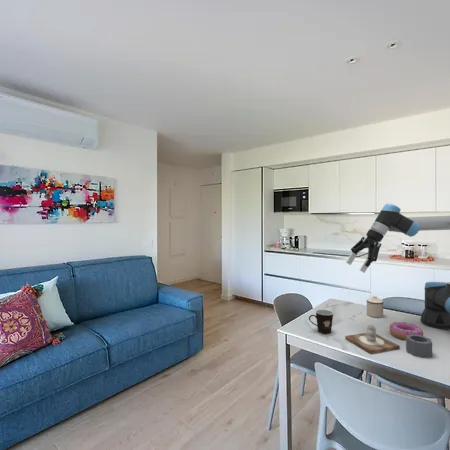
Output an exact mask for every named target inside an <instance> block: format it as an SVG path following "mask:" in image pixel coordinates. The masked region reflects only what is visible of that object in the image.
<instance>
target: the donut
mask: <svg viewBox="0 0 450 450" xmlns="http://www.w3.org/2000/svg"><path fill="white" fill-rule="evenodd" d="M389 333H390V334H391V335H392V336H393V337H395V338H397V339H400V340H403V341H406V335H411V334H415V335H421V336H424V329H422V327H421V326H418V325H416V324H413V323H411V322H406V321H405V322H403V321H395V322H391V323H389Z"/></svg>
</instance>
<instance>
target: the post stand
mask: <svg viewBox="0 0 450 450" xmlns="http://www.w3.org/2000/svg"><path fill="white" fill-rule="evenodd" d="M344 337H345V339H344V340H346V341H348V342H349V343H351V344H352V345H355V346H356V347H358V348H359V349H361V350H363V351H364V352H366V353H367V354H370V355H374V354H379V353H385V352H389V351H390V352H391V351H396V350H400V349H401V345H400V344H397V343H396V342H393V341H392V340H389V339H387V338H385V337H384V336H382V335H379V334H377V329H376V326H375V325H373V324H369V325H367V328H366V332H362V333H356V334H349V335H345V336H344Z"/></svg>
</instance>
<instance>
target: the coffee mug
mask: <svg viewBox="0 0 450 450" xmlns="http://www.w3.org/2000/svg"><path fill="white" fill-rule="evenodd" d="M311 317H315V319H316V323H317V324H316V323H315V322H313V321H312V320H311ZM333 317H334V312H333V310H329V309H317V310H315V314H311V315H309V317H308V320H309V322H311V323H312V324H313V325H314V326H316V328H317V332H318V333H320V334H323V335H329V334H331V333H332V329H333V328H332V327H333V320H334V318H333Z"/></svg>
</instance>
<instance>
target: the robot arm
mask: <svg viewBox="0 0 450 450" xmlns="http://www.w3.org/2000/svg"><path fill="white" fill-rule="evenodd" d="M422 231H423V232H424V231H425V232H426V231H450V215H435V216H433V215H432V216H409V217H407V216H405V215H403V214H401V208H400V207H399V206H398V205H395V204H393V203H389V202H388V203H385V204H384V205H383V207H382V209H381V210H380V211H379V213H378V215H377V217H376V218H375V220H374V222H373V223H372V225H371V226H370V228H369V229H368V231H367V232H366V234H365V235H366V237H364V236H362V237H361V238H360V240H358V242H356V244H354V245H353V246H352V247H351V248H350V251H351V253H350V255H349V257H347V260H346V262H345V263H346V264H347V265H349V266H351V265H352V264H353V262H354V260H355V259H356V258H357V255H358V253H360V252H361V251H363V250H364V249H368V250H367V258H366V259H365V260H364V262H363V263H362V265H361V266H360V268H359V271H360V272H362V273H364V274H365V273H366V271H367V270H368V269H369V267H370V266H371V263H373V262H377V259H378V256H379V252H380V249H381V246H382V243H381V242H382V240H383V238H384V236H386V234H387V233H388V232H396V233H401V234H404V235H405V236H408V237H410V238H411V237H415V236H416V235H417V234H418V233H419V232H422ZM420 322H421V324H423V325H425V326H427V327H430V328H434V329H440V330H450V281H449V282H448V281H447V282H445V281H443V282H442V281H427V282H425V283H424V308H423V311H422V313H421V315H420Z"/></svg>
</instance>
